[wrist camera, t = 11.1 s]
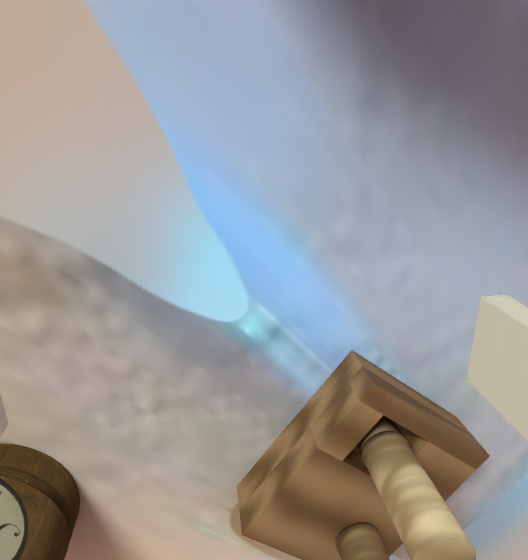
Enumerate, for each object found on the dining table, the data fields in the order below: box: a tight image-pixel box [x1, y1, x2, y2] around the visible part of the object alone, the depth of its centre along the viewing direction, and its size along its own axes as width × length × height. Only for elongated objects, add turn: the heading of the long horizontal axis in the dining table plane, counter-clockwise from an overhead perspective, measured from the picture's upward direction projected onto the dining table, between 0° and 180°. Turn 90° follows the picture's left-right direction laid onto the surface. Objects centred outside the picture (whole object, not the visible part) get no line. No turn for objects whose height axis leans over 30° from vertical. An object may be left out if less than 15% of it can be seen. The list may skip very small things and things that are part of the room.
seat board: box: [237, 351, 489, 560], centre depth 40 cm, size 20×16×17 cm
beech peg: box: [357, 415, 476, 560], centre depth 37 cm, size 5×5×14 cm
